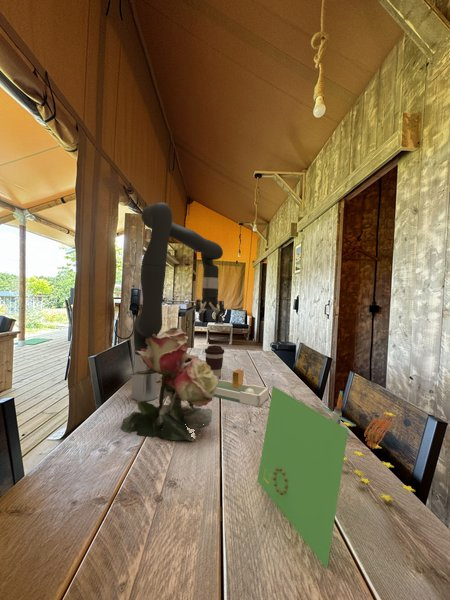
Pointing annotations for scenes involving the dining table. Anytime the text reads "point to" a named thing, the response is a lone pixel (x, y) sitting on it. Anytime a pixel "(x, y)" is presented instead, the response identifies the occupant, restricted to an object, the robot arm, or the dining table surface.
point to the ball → (250, 391)
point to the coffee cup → (215, 358)
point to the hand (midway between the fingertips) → (209, 322)
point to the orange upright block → (237, 381)
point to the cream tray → (242, 393)
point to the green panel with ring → (309, 465)
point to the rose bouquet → (173, 390)
